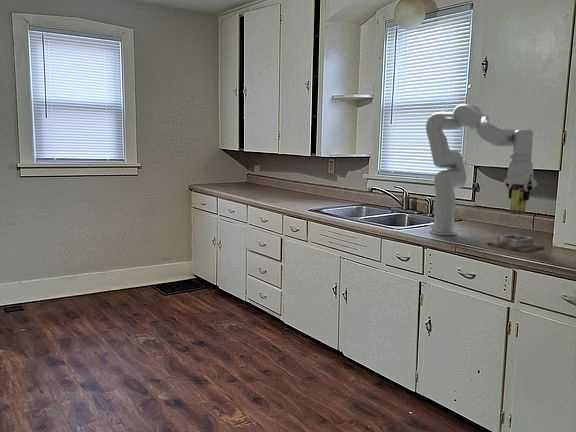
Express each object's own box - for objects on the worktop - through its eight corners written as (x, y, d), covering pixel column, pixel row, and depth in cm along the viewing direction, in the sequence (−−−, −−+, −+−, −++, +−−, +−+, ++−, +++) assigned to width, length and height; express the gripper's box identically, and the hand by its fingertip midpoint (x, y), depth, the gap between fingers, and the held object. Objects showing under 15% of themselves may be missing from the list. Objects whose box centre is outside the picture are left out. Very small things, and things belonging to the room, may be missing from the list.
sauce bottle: (519, 215, 234) (523, 169, 231) (506, 213, 239) (510, 168, 236) (528, 214, 238) (531, 169, 235) (515, 212, 243) (518, 168, 240)
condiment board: (487, 244, 244) (487, 235, 243) (507, 241, 252) (507, 232, 252) (523, 252, 229) (524, 242, 228) (543, 248, 237) (544, 239, 237)
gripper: (498, 157, 240) (496, 197, 242) (535, 159, 225) (531, 202, 228) (509, 157, 244) (506, 196, 247) (545, 159, 230) (542, 201, 232)
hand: (518, 199), depth 237 cm, fingers closed on sauce bottle, 6 cm apart
